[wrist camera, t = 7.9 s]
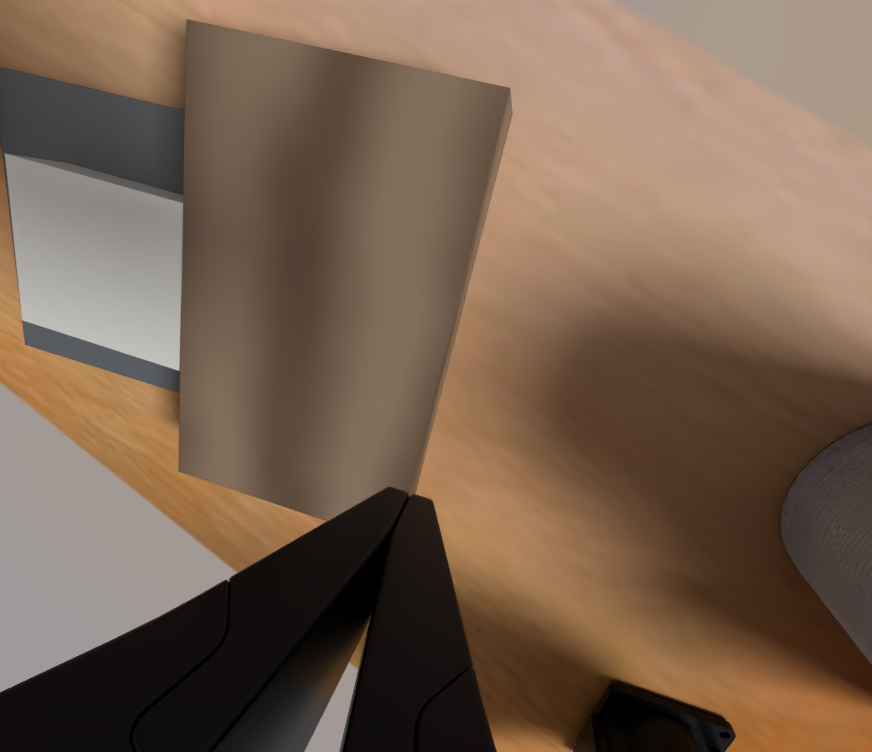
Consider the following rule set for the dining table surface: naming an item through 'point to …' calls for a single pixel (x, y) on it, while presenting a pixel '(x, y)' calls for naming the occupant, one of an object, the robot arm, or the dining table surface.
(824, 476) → the pillar candle
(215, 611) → the robot arm
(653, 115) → the dining table surface
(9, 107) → the mat
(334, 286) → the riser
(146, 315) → the coaster
